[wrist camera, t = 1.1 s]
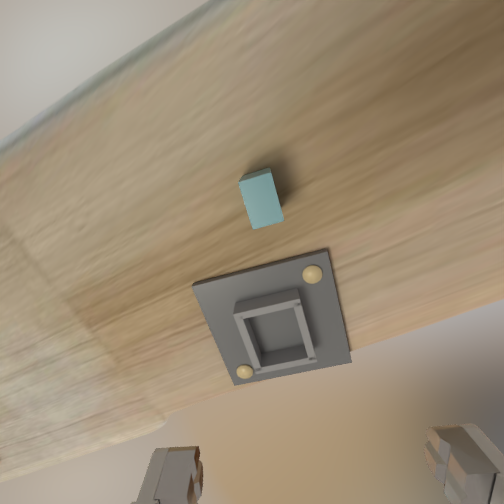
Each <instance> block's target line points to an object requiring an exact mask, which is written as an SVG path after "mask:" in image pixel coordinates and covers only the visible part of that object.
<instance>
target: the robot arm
mask: <svg viewBox="0 0 504 504" xmlns="http://www.w3.org/2000/svg"><path fill="white" fill-rule="evenodd" d="M426 436H427V437H428V439H429V441H428V442H427V443H426V444H425V447H424V454H425V458H426V462H427V464H428V466H429V469H430V470H431V472H432V474H433V476H434V477H435V478H436V479H437V480H439V481H440V482H442V483H443V484H444V493H445V495H446V497H447V498H448V500H449V502H450V503H451V504H504V455H503V454H502V453H501V452H500V451H499V450H498V449H497V448H496V446H495V445H494V444H493V443H492V442H491V441H490V440H489V439H488V438H487V437H486V436H485V434H484V433H483V432H482V431H481V430H480V429H479V428H478V427H477V426H476V425H474V424H461V425H446V426H435V427H429V428H428V429H427V431H426ZM199 457H200V450H199V446H190V447H170V448H156V449H155V451H154V453H153V454H152V457H151V460H150V463H149V466H148V469H147V472H146V475H145V478H144V481H143V484H142V487H141V490H140V493H139V496H138V498H137V501H136V502H132V503H131V504H198V503H197V501H198V500H199V498H200V497H201V494H202V487H203V466H202V462H201V461H200V460H199Z"/></svg>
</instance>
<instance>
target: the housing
mask: <svg viewBox="0 0 504 504" xmlns="http://www.w3.org/2000/svg"><path fill="white" fill-rule="evenodd" d="M192 289H193V291H194V294H195V296H196V298H197V300H198V303H199V305H200V307H201V310H202V312H203V314H204V317H205V319H206V321H207V324H208V326H209V328H210V330H211V333H212V335H213V337H214V340H215V342H216V344H217V347H218V349H219V351H220V353H221V356H222V358H223V360H224V363H225V365H226V367H227V370H228V372H229V374H230V376H231V379H232V381H233V383H234V386H235V385H240V384H245V383H250V382H256V381H261V380H266V379H271V378H276V377H281V376H286V375H291V374H296V373H301V372H306V371H311V370H316V369H321V368H326V367H331V366H336V365H341V364H346V363H351V362H352V360H351V356H350V351H349V346H348V342H347V337H346V333H345V328H344V324H343V319H342V315H341V310H340V306H339V301H338V297H337V292H336V287H335V283H334V278H333V274H332V269H331V265H330V260H329V256H328V251H327V250H326V249H322V250H319V251H315V252H311V253H307V254H303V255H299V256H296V257H292V258H288V259H284V260H280V261H276V262H273V263H269V264H265V265H261V266H257V267H253V268H250V269H246V270H242V271H238V272H234V273H230V274H227V275H223V276H219V277H215V278H211V279H207V280H204V281H200V282H196V283H193V285H192Z"/></svg>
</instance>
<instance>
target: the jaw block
mask: <svg viewBox="0 0 504 504" xmlns="http://www.w3.org/2000/svg"><path fill="white" fill-rule="evenodd" d="M238 184H239V187H240V190H241V193H242V197H243V200H244V203H245V206H246V209H247V212H248V216H249V219H250V222H251V225H252V228H253V229H257V228H261V227H264V226H268V225H271V224H275V223H278V222H282V221H284V218H283V214H282V211H281V207H280V203H279V199H278V196H277V192H276V188H275V185H274V181H273V177H272V173H271V170H270V167H269V168H266V169H263V170H259V171H256V172H253V173H250V174H247V175H243V176H242V177H241V179H240V180H239V182H238Z"/></svg>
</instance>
